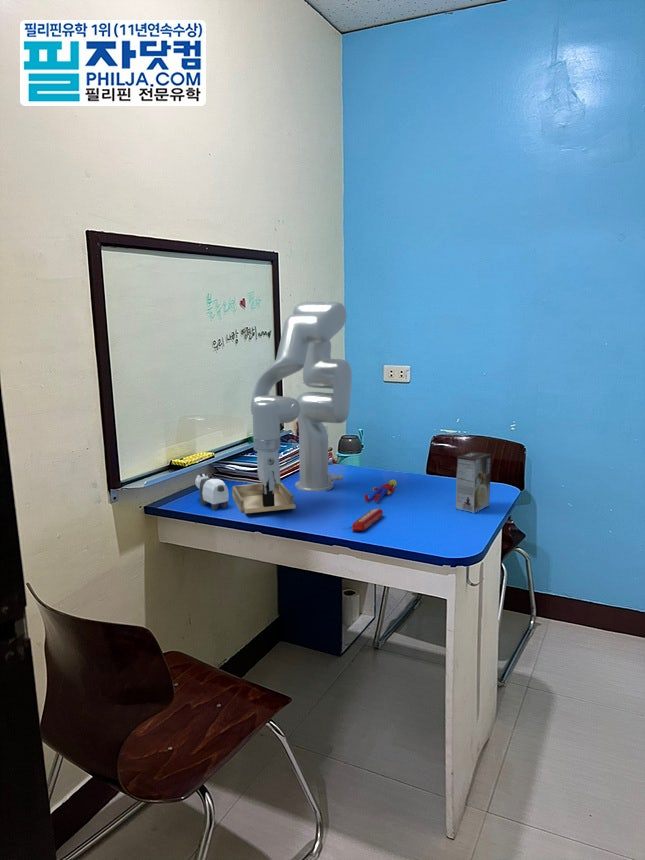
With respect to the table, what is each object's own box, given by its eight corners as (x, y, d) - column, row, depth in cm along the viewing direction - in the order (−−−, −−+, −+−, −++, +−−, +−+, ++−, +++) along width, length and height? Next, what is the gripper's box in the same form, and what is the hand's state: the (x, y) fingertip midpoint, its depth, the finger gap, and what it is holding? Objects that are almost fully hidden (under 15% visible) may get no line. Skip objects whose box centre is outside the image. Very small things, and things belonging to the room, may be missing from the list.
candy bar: (372, 515, 181) (372, 505, 181) (384, 517, 180) (384, 507, 179) (349, 533, 167) (349, 522, 167) (362, 535, 166) (362, 524, 165)
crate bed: (280, 493, 202) (280, 481, 201) (293, 508, 187) (293, 495, 186) (232, 498, 197) (231, 486, 196) (241, 513, 182) (240, 500, 182)
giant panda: (231, 509, 187) (229, 478, 185) (214, 513, 183) (213, 481, 181) (206, 498, 198) (204, 468, 196) (190, 501, 194) (188, 471, 192)
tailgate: (291, 504, 185) (295, 503, 181) (292, 508, 185) (295, 508, 181) (244, 509, 181) (247, 508, 177) (244, 513, 181) (247, 513, 177)
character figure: (364, 487, 192) (388, 472, 209) (360, 500, 193) (384, 483, 210) (381, 495, 189) (404, 479, 207) (376, 508, 191) (399, 490, 208)
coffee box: (470, 502, 191) (472, 450, 188) (489, 506, 187) (492, 454, 184) (454, 509, 185) (456, 456, 182) (474, 514, 180) (476, 459, 177)
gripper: (286, 448, 172) (287, 513, 175) (274, 437, 186) (275, 497, 189) (258, 450, 170) (260, 515, 173) (249, 439, 184) (251, 500, 187)
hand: (268, 506), depth 181 cm, fingers closed
